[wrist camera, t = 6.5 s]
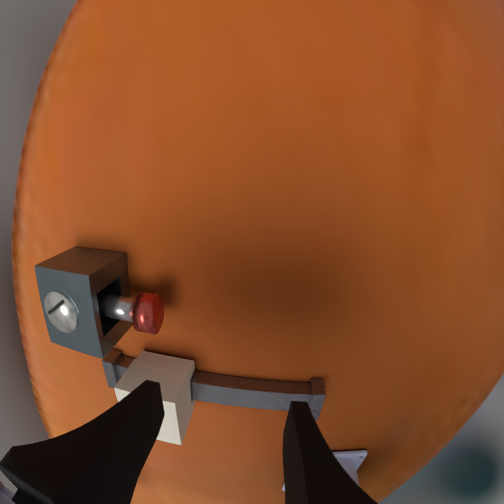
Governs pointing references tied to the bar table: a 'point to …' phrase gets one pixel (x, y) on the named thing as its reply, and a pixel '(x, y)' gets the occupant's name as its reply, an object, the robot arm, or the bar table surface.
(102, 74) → the bar table surface
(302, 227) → the bar table surface
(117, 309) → the plunger
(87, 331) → the gauge cabinet
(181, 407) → the carriage
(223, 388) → the rail
